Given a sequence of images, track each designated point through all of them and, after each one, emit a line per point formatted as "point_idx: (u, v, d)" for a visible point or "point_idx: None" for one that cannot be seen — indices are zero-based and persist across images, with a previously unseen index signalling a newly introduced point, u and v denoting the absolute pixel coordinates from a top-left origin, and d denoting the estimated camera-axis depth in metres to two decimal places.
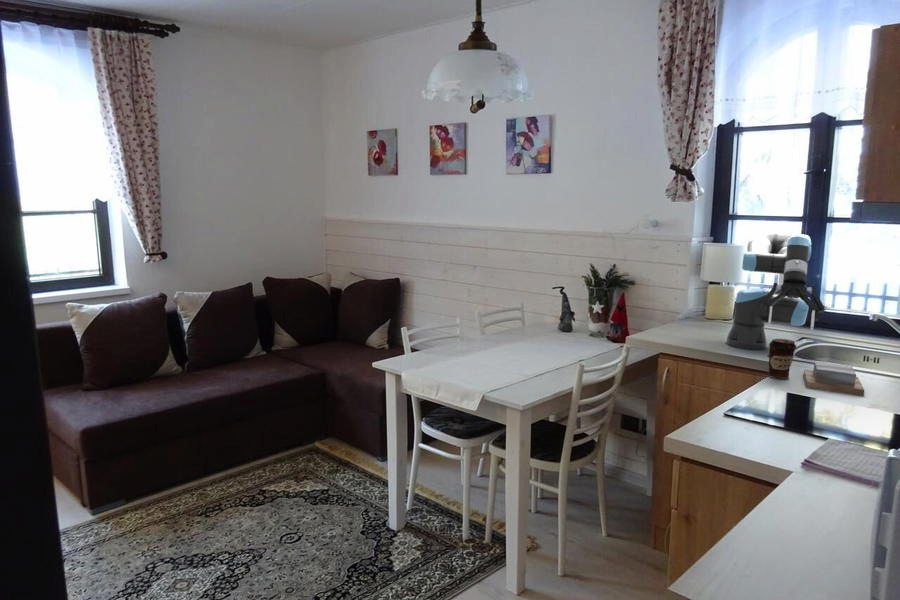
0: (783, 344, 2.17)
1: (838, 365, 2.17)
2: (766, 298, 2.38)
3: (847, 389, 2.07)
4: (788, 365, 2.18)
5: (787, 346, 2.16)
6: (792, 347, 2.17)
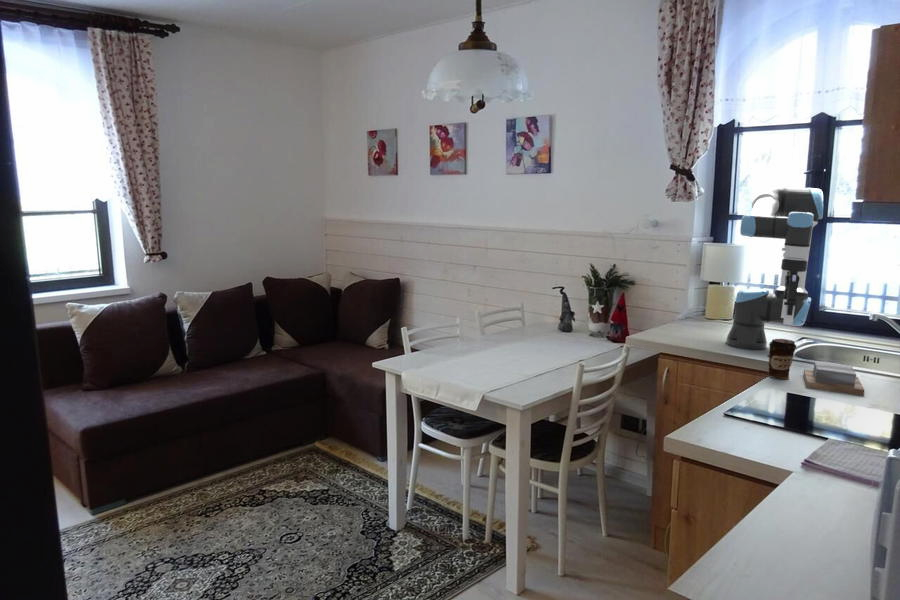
0: (783, 344, 2.17)
1: (838, 365, 2.17)
2: (784, 290, 2.26)
3: (847, 389, 2.07)
4: (788, 365, 2.18)
5: (787, 346, 2.16)
6: (792, 347, 2.17)
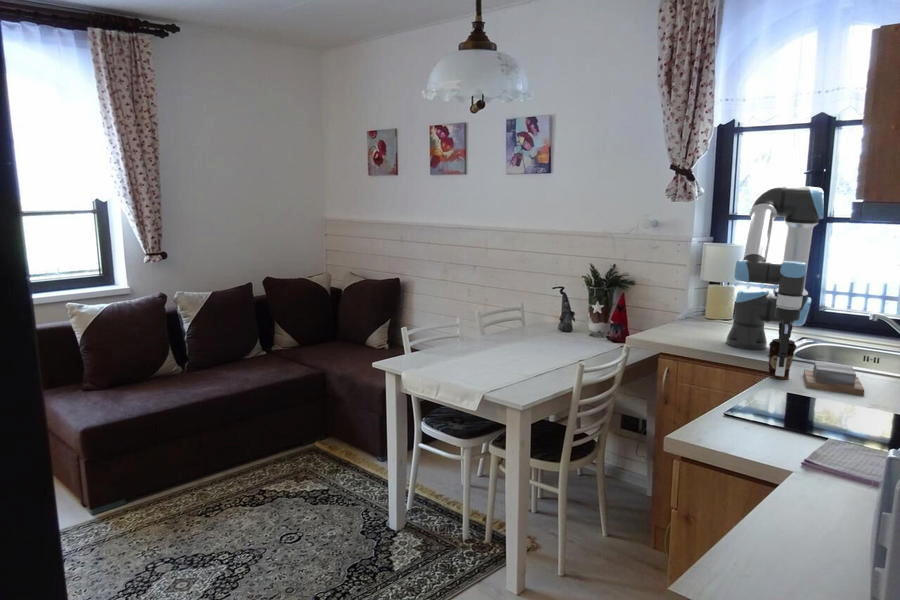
0: None
1: (838, 365, 2.17)
2: None
3: (847, 389, 2.07)
4: (788, 365, 2.18)
5: None
6: (792, 347, 2.17)
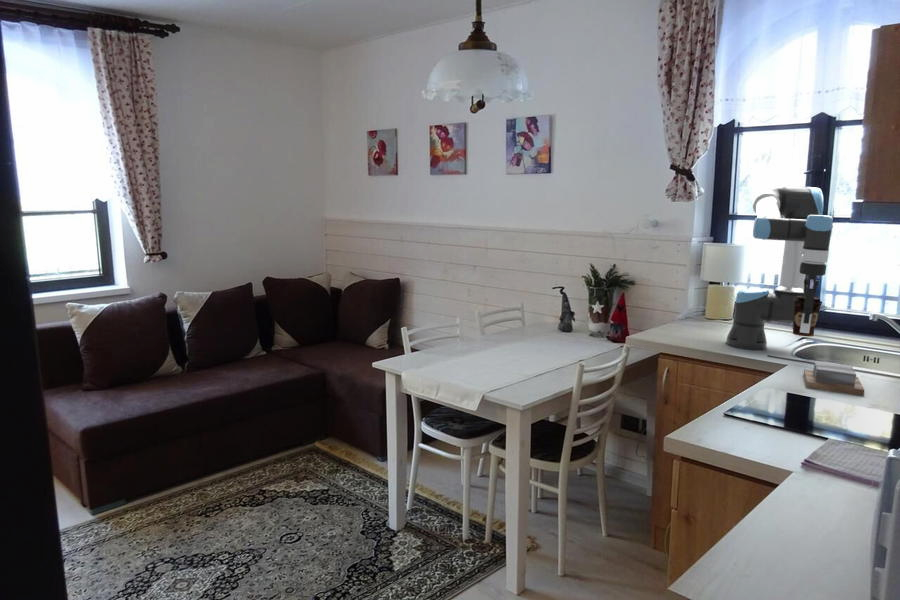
0: None
1: (838, 365, 2.17)
2: None
3: (847, 389, 2.07)
4: (813, 322, 2.13)
5: None
6: (817, 303, 2.11)
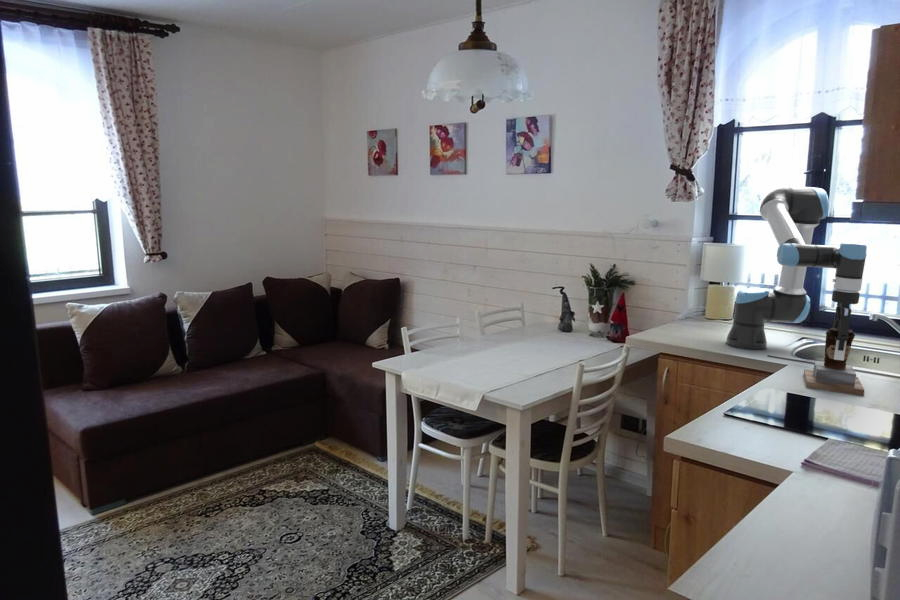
0: None
1: None
2: (834, 322, 2.20)
3: (847, 389, 2.07)
4: (846, 355, 2.10)
5: None
6: (851, 336, 2.09)
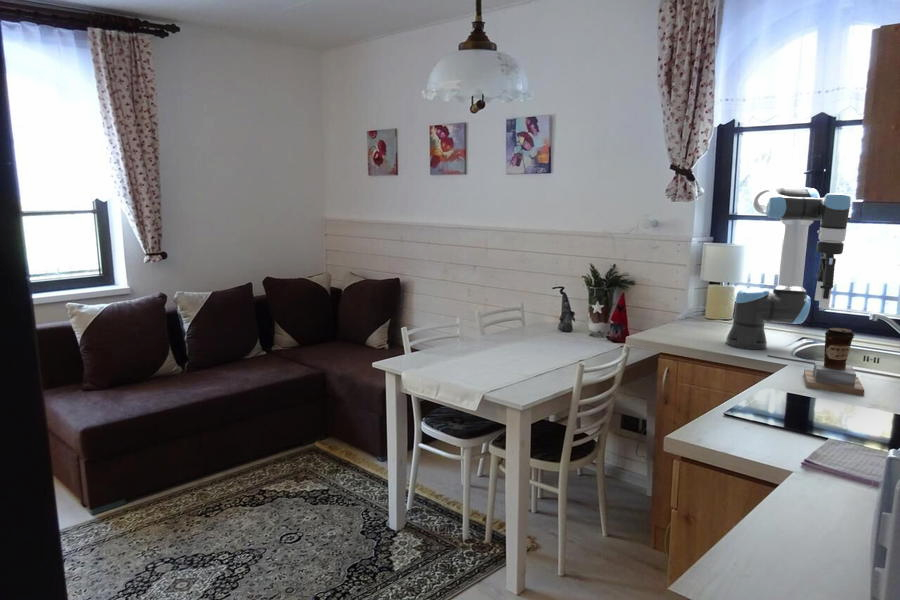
0: (841, 333, 2.09)
1: None
2: (818, 272, 2.24)
3: (847, 389, 2.07)
4: (846, 355, 2.10)
5: (845, 335, 2.08)
6: (850, 336, 2.09)
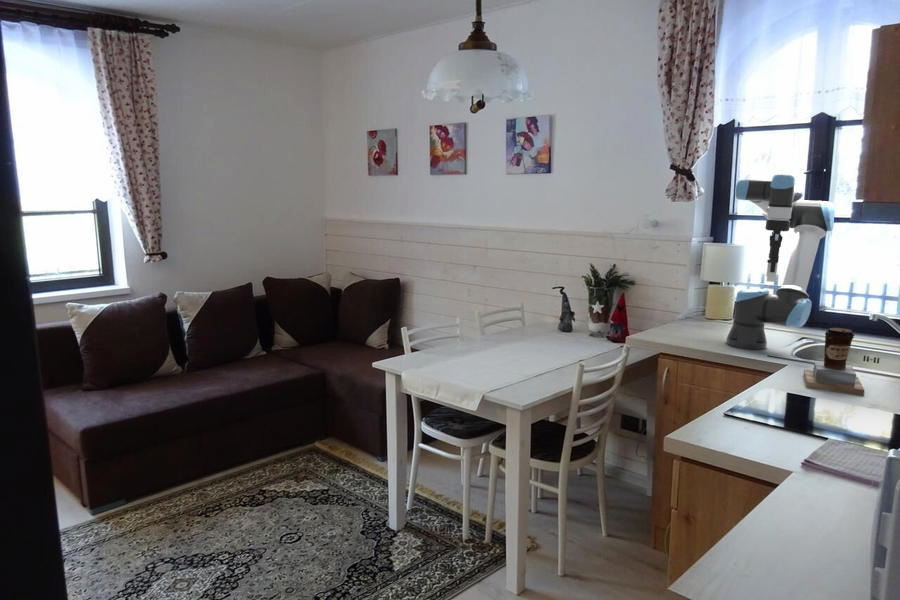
0: (841, 333, 2.09)
1: None
2: None
3: (847, 389, 2.07)
4: (846, 355, 2.10)
5: (845, 335, 2.08)
6: (850, 336, 2.09)
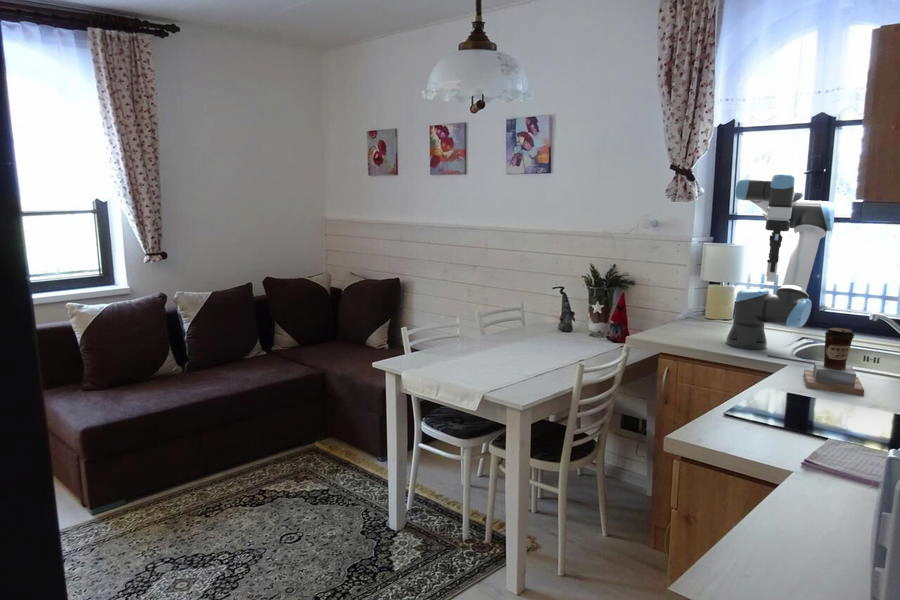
0: (841, 333, 2.09)
1: None
2: None
3: (847, 389, 2.07)
4: (846, 355, 2.10)
5: (845, 335, 2.08)
6: (850, 336, 2.09)
